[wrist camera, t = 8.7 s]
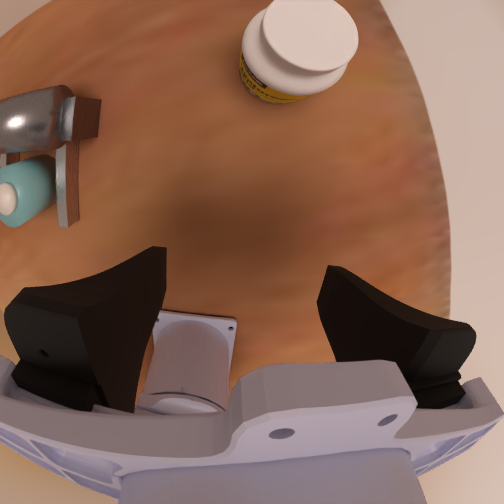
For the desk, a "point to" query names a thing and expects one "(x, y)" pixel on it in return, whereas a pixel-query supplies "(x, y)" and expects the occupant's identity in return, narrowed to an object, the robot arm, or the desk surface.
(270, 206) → the desk surface
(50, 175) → the teal cylinder
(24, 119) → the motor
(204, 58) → the desk surface
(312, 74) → the supplement bottle
